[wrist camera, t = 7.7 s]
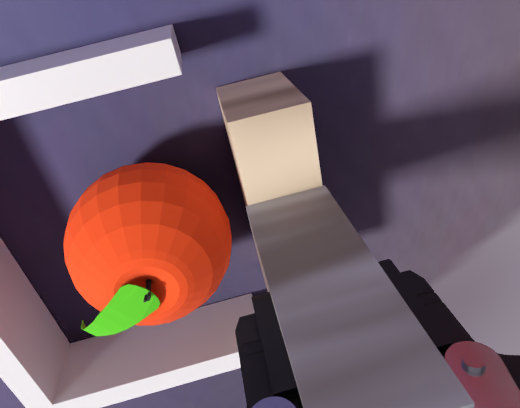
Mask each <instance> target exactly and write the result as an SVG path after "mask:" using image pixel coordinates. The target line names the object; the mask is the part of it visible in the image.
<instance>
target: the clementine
mask: <svg viewBox="0 0 520 408" xmlns="http://www.w3.org/2000/svg"><path fill="white" fill-rule="evenodd" d="M63 244H64V257H65V263H66V266H67V269H68V271H69V274H70V276H71V279H72V281H73V283H74V286H75V288H76V290H77V291H78V292H79V293H80V294H81V295H82V297H83V298H84V299H85V300H86V301H87V302H88V303H89V304H90V305H92V306H93V307H94V308H96V309H97V310H99V311H100V313H99V315H98V316H97V317H96V318H95V320H94V321H93V322H92V323H91V324H90V325H89V326H87V327H86V326H85V324H84V321H83V320H82V325H81V329H82V330H84V331H86V332H88V333H90V334H92V335H94V336H108V335H113V334H117V333H119V332H122V331H124V330H127V329H129V328H130V327H132V326H134V325H137V326H155V325H160V324H165V323H170V322H172V321H175V320H177V319H180V318H182V317H184V316H186V315H188V314H189V313H191V312H192V311H194V310H195V309H197V308H198V307H199V306H201V305H202V304H204V303H205V302H206V301H207V300H208V299H209V298H210V297H211V295H212V294H213V293H214V292H215V291H216V290H217V288H218V286H219V284H220V282H221V280H222V278H223V276H224V274H225V272H226V270H227V268H228V266H229V261H230V254H231V245H232V235H231V229H230V223H229V218H228V216H227V214H226V212H225V210H224V208H223V206H222V204H221V202H220V200H219V198H218V197H217V195H216V194H215V192H214V191H213V190H212V189H211V188H210V187H209V186H208V185H207V184H206V183H205V182H204V181H203V180H201V179H200V178H198V177H196V176H195V175H193V174H191V173H190V172H188V171H186V170H184V169H181V168H178V167H175V166H171V165H168V164H164V163H150V162H145V163H139V164H133V165H127V166H122V167H120V168H118V169H115V170H113V171H111V172H109V173H106V174H104V175H103V176H101V177H100V178H99V179H98V180H97V181H95V182H94V183H93V184H92V185H90V186H89V187H88V188H87V189H86V191H85V192H84V193H83V194H82V196H81V197H80V199H79V200H78V202H77V203H76V205H75V206H74V208H73V209H72V211H71V212H70V215H69V219H68V223H67V227H66V230H65V236H64V243H63Z"/></svg>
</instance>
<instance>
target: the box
mask: <svg viewBox="0 0 520 408" xmlns="http://www.w3.org/2000/svg"><path fill="white" fill-rule="evenodd" d="M178 75H182V64H181V52H180V48H179V45H178V41H177V38H176V35H175V31H174V28H173V24H171V25H167V26H163V27H159V28H155V29H151V30H147V31H143V32H139V33H135V34H131V35H127V36H123V37H119V38H115V39H111V40H107V41H103V42H99V43H94V44H90V45H86V46H82V47H78V48H74V49H70V50H66V51H62V52H58V53H54V54H50V55H46V56H42V57H38V58H34V59H30V60H26V61H22V62H18V63H14V64H10V65H6V66H2V67H0V121H1V120H5V119H9V118H13V117H17V116H21V115H25V114H29V113H33V112H37V111H41V110H45V109H49V108H53V107H56V106H60V105H64V104H68V103H72V102H76V101H80V100H84V99H88V98H92V97H96V96H100V95H104V94H108V93H112V92H115V91H119V90H123V89H127V88H131V87H135V86H139V85H143V84H147V83H151V82H155V81H159V80H163V79H167V78H171V77H174V76H178ZM251 297H252V293H250V294H246V295H242V296H239V297H235V298H232V299H228V300H224V301H221V302H217V303H214V304H210V305H207V306H203V307H199V308H197V309H195V310H194V311H192V312H191V313H189V314H188V315H186V316H184V317H182V318H180V319H177V320H175V321H172V322H170V323H165V324H160V325H155V326H137V325H135V326H132V327H130V328H129V329H127V330H124V331H122V332H119V333H117V334H113V335H108V336H95V337H92V338H88V339H84V340H81V341H77V342H74V343H70V342H69V341H68V339H67V338H66V336H65V335H64V333H63V332H62V330H61V329H60V327H59V326H58V324H57V323H56V321H55V320H54V318H53V317H52V315H51V314H50V312H49V310H48V309H47V307H46V306H45V304H44V303H43V301H42V300H41V298H40V297H39V295H38V294H37V292H36V291H35V289H34V288H33V286H32V285H31V283H30V282H29V280H28V278H27V277H26V275H25V274H24V272H23V271H22V269H21V268H20V266H19V265H18V263H17V262H16V260H15V259H14V257H13V256H12V254H11V253H10V251H9V250H8V248H7V246H6V245H5V243H4V242H3V240H2V239H1V237H0V377H1V379H2V380H3V381H4V382H5V383H6V385H7V386H8V387H9V388H10V389H11V391H12V392H13V393H14V394H15V395H16V397H17V398H18V399H19V400H20V401H21V403H22V404H23V405H24V406H25V407H26V408H101V407H105V406H108V405H112V404H115V403H119V402H122V401H126V400H129V399H133V398H136V397H140V396H143V395H147V394H150V393H154V392H157V391H161V390H164V389H168V388H171V387H175V386H178V385H182V384H185V383H189V382H192V381H196V380H199V379H203V378H206V377H210V376H213V375H217V374H220V373H224V372H227V371H231V370H234V369H238V368H241V365H240V358H239V353H238V346H237V341H236V335H235V330H236V326H237V323H238V320H239V317H242V316H246V315H250V314H253V313H255V312H254V307H253V303H252V299H251Z"/></svg>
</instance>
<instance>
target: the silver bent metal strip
mask: <svg viewBox="0 0 520 408" xmlns="http://www.w3.org/2000/svg"><path fill="white" fill-rule="evenodd" d="M216 91H217V95H218V99H219V103H220V107H221V111H222V115H223V119H224V123H225V127H226V131H227V135H228V139H229V143H230V146H231V150H232V154H233V158H234V162H235V166H236V170H237V174H238V178H239V182H240V186H241V190H242V194H243V198H244V202H245V206H246V210H247V214H248V218H249V222H250V226H251V230H252V234H253V238H254V242H255V246H256V250H257V254H258V258H259V262H260V265H261V269H262V273H263V276H264V280H265V283H266V287H267V291H268V292H270V294H271V298H272V301H273V305H274V308H275V312H276V315H277V319H278V322H279V326H280V329H281V332H282V336H283V339H284V343H285V346H286V350H287V353H288V357H289V360H290V364H291V367H292V370H293V374H294V377H295V381H296V384H297V388H298V392H299V396H300V400H301V404H302V408H474V405H475V403H474V401H473V400H472V398H471V397H470V395H469V394H468V392H467V391H466V390H465V388H464V387H463V385H462V384H461V382H460V381H459V379H458V378H457V376H456V375H455V374H454V372H453V371H452V369H451V368H450V366H449V365H448V363H447V362H446V361H445V359H444V358H443V356H442V355H441V353H440V352H439V350H438V349H437V347H436V346H435V345H434V343H433V342H432V340H431V339H430V337H429V336H428V334H427V333H426V331H425V330H424V329H423V327H422V326H421V324H420V323H419V321H418V320H417V318H416V317H415V315H414V314H413V313H412V311H411V310H410V308H409V307H408V305H407V304H406V302H405V301H404V299H403V298H402V297H401V295H400V294H399V292H398V291H397V289H396V288H395V286H394V285H393V283H392V282H391V281H390V279H389V278H388V276H387V275H386V273H385V272H384V270H383V269H382V267H381V266H380V265H379V263H378V262H377V260H376V259H375V257H374V256H373V254H372V253H371V251H370V250H369V249H368V247H367V246H366V244H365V243H364V241H363V240H362V238H361V237H360V235H359V234H358V233H357V231H356V230H355V228H354V227H353V225H352V224H351V222H350V221H349V219H348V218H347V217H346V215H345V214H344V212H343V211H342V209H341V208H340V206H339V205H338V203H337V202H336V201H335V199H334V198H333V196H332V195H331V193H330V192H329V190H328V189H327V187H326V186H325V185H324V186H323V185H322V178H321V171H320V164H319V156H318V149H317V142H316V135H315V127H314V120H313V113H312V105H311V101H310V100H309V99H308V98H307V97H306V96H305V95H304V94H303V93H302V92H301V91H300V90H299V89H297V88H296V87H295V86H294V85H293V84H292V83H291V82H290V81H289V80H288V79H287V78H286V77H285V76H284V75H283V74H282V73H281V72H276V73H272V74H268V75H264V76H260V77H256V78H252V79H248V80H244V81H240V82H236V83H232V84H228V85H224V86H220V87H216Z"/></svg>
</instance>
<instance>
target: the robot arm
mask: <svg viewBox="0 0 520 408" xmlns="http://www.w3.org/2000/svg"><path fill="white" fill-rule="evenodd" d="M378 263H379V265H380V266H381V267H382V269H383V270H384V272H385V273H386V275H387V276H388V278H389V279H390V281H391V282H392V283H393V285H394V286H395V288H396V289H397V291H398V292H399V294H400V295H401V297H402V298H403V299H404V301H405V302H406V304H407V305H408V307H409V308H410V310H411V311H412V313H413V314H414V315H415V317H416V318H417V320H418V321H419V323H420V324H421V326H422V327H423V329H424V330H425V331H426V333H427V334H428V336H429V337H430V339H431V340H432V342H433V343H434V345H435V346H436V347H437V349H438V350H439V352H440V353H441V355H442V356H443V358H444V359H445V361H446V362H447V363H448V365H449V366H450V368H451V369H452V371H453V372H454V374H455V375H456V376H457V378H458V379H459V381H460V382H461V384H462V385H463V387H464V388H465V390H466V391H467V392H468V394H469V395H470V397H471V398H472V400H473V401H474V403H475V405H474V408H520V356H518V355H503V354H498V353H496V352H495V351H494V350H493V349H491V348H490V347H488V346H486V345H484V344H481V343H478V342H475V341H474V340H473V339H472V338H471V337H470V335H469V334H468V333H467V332H466V330H465V329H464V328H463V327H462V325H461V324H460V323H459V322H458V320H457V319H456V318H455V317H454V315H453V314H452V313H451V312H450V310H449V309H448V308H447V307H446V305H445V304H444V303H442V301H441V299H440V298H439V297H438V295H437V294H436V293H434V290H433V289H432V288H431V287H430V285H429V284H428V283H427V282H426V280H425V279H424V278H422V277H421V276H419V275H417V274H416V273H414V272H412V271H411V270H408V271H405V272H401V273H400V272H399V270H398V269H397V268H396V266H395V265H394V264H393V262H392V261H391V260H389V259H387V260H383V261H380V262H378ZM251 299H252V303H253V307H254V312H255V313H253V314H250V315H246V316H242V317H239V320H238V323H237V326H236V330H235V335H236V341H237V346H238V353H239V358H240V365H241V371H242V377H243V384H244V390H245V396H246V402H247V408H302V404H301V400H300V396H299V392H298V388H297V384H296V381H295V377H294V374H293V370H292V367H291V364H290V360H289V357H288V353H287V350H286V346H285V343H284V339H283V336H282V332H281V329H280V326H279V322H278V319H277V315H276V312H275V308H274V305H273V301H272V298H271V294H270V292H267V293H263V294H259V295H256V296H252V297H251Z"/></svg>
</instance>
